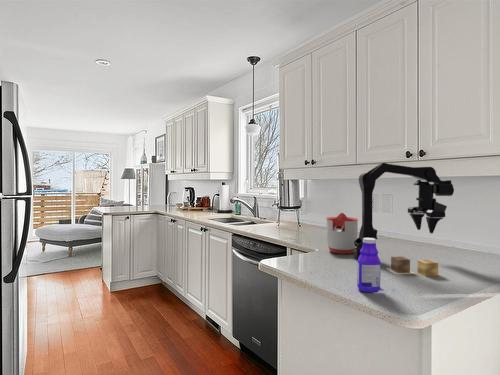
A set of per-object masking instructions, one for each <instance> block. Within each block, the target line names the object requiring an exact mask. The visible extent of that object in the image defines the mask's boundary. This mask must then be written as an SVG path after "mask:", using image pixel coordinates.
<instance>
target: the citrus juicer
mask: <svg viewBox="0 0 500 375" xmlns="http://www.w3.org/2000/svg"><path fill="white" fill-rule="evenodd" d="M325 219H326V240H327V241H326V242H327V245H328V250H329V252H331V253H333V254H344V255H349V254H353V253H354V249H355V248H356V246H355V244H354V241H355V240H356V239H358V237H359V234H358V233H359V232H358V230H359V228H358V223H359V222H358V221H359V219H358V218H356V217H347V215H346V214H345V213H344V212H340V213H339V214H338V215H337V216H329V217H326V218H325Z"/></svg>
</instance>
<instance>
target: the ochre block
mask: <svg viewBox="0 0 500 375" xmlns="http://www.w3.org/2000/svg"><path fill="white" fill-rule="evenodd" d="M417 273H418V274H420V275H421V276H423V277H439V262H437V261H435V260H432V259H417Z"/></svg>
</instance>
